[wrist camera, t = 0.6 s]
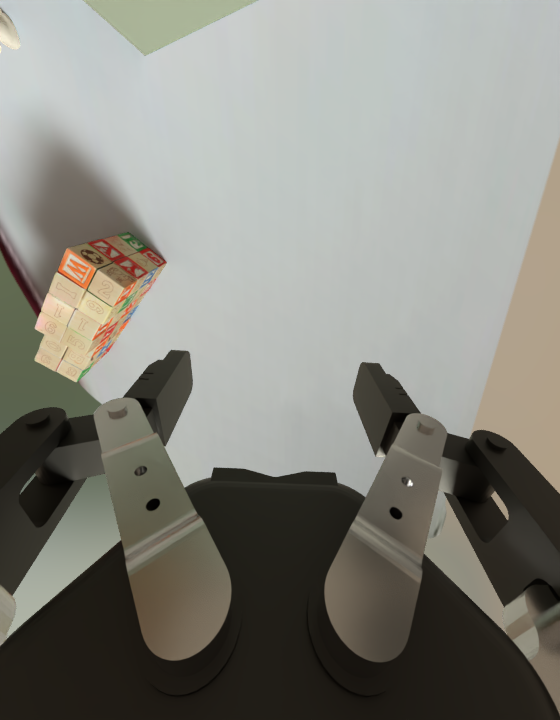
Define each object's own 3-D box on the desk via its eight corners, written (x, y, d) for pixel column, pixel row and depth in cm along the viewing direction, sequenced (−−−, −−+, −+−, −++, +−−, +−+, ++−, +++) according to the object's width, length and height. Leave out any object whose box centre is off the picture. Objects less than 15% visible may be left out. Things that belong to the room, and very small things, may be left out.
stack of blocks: (110, 351, 48) (61, 396, 38) (75, 330, 46) (13, 372, 35) (168, 261, 39) (124, 289, 29) (127, 229, 37) (65, 247, 26)
